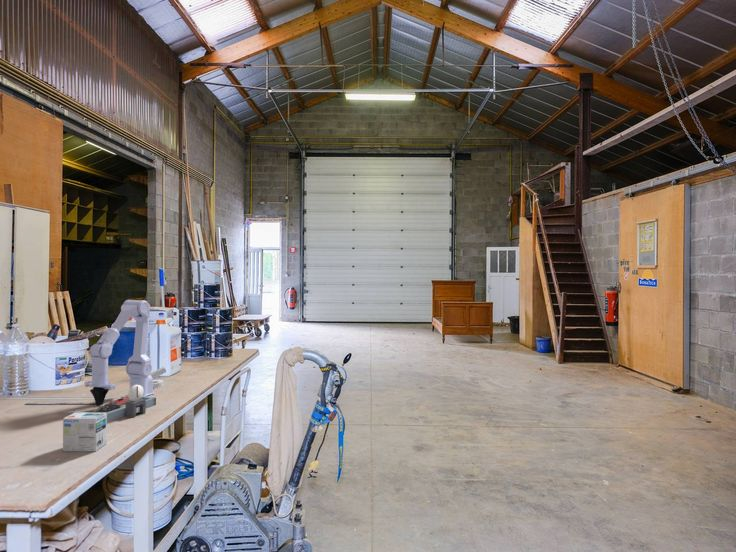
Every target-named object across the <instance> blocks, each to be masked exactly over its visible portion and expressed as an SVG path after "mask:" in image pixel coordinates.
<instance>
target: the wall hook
mask: <svg viewBox="0 0 736 552" xmlns="http://www.w3.org/2000/svg"><path fill="white" fill-rule="evenodd" d="M165 373H167V370H166V368H165V366H162V367H160V368H158V369H156V370H154V371H153V372H152V371H151V373H150V374H149V375H150V376H151V377H152V378H153V388H157V389H159V388H158V387H161V388H163V387H164V380H162V379H156V378H158V377H159V376H162V375H163V374H165ZM162 386H163V387H162Z"/></svg>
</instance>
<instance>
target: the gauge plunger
mask: <svg viewBox="0 0 736 552" xmlns="http://www.w3.org/2000/svg"><path fill="white" fill-rule="evenodd" d="M122 407H126V405H125V404H124V405H121V406H120V408H122ZM138 412H140V407H138V406H136V414H139V413H138Z"/></svg>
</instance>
